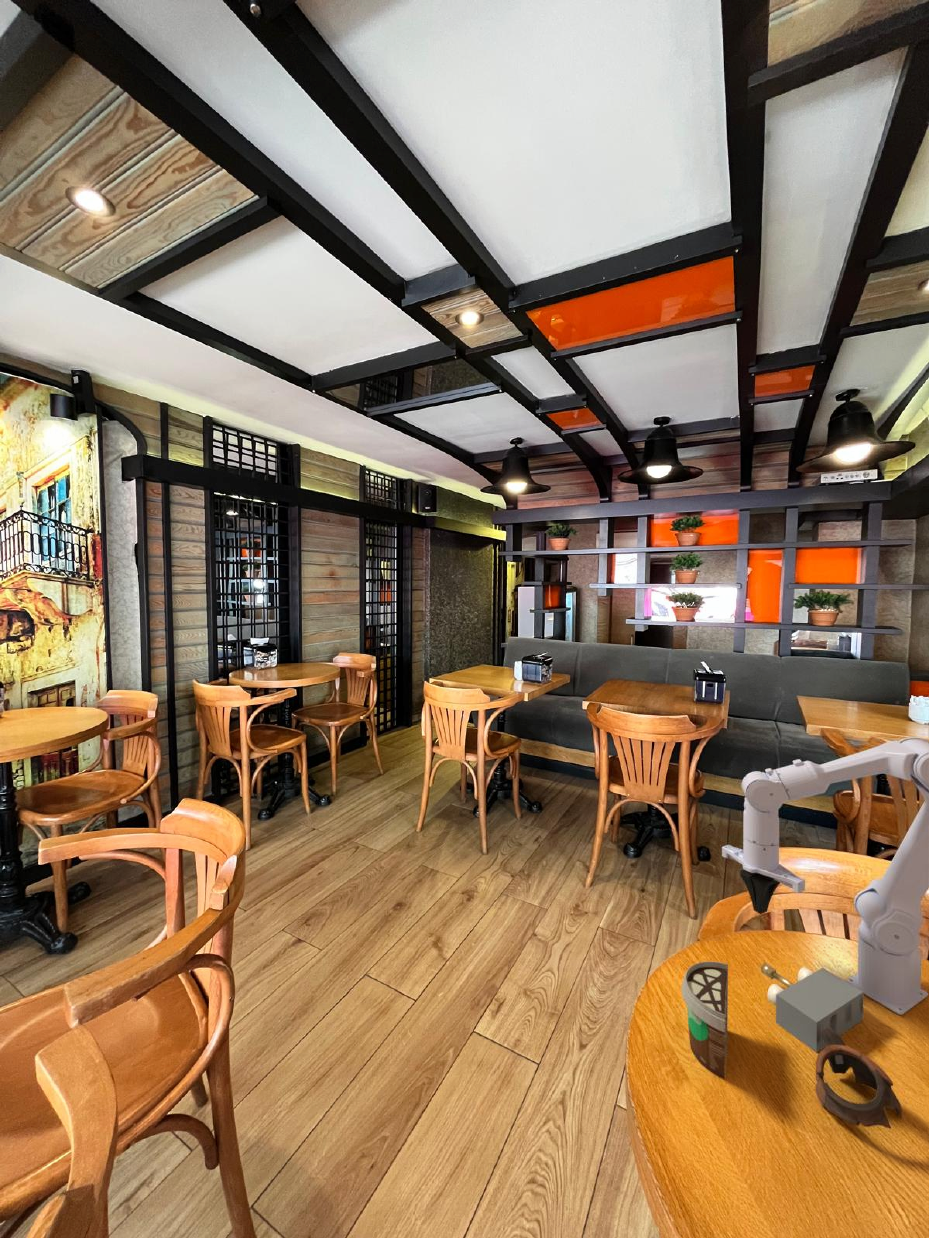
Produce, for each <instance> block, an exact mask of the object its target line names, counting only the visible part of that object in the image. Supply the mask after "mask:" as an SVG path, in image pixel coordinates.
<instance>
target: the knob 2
mask: <svg viewBox="0 0 929 1238" xmlns="http://www.w3.org/2000/svg"><path fill="white" fill-rule="evenodd" d="M814 972H815V971H812V970H811V969H809V968H807V967H806V966H803V967H801V968H800V969H799V972H798V975H797V982H799V981H801V980H802V979H804V978H806V977H807V976H809V975H811V974H813V973H814Z"/></svg>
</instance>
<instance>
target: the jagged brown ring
mask: <svg viewBox="0 0 929 1238" xmlns="http://www.w3.org/2000/svg"><path fill="white" fill-rule="evenodd" d="M821 1036H822V1038H823V1040H824V1042H825V1045H826V1046H825V1047H824V1048H822V1049H821V1051H820V1052H819V1053H818V1055H817V1057H816V1061H815V1080H816V1084H815V1087H814V1092H815V1093H816V1097H817V1100H819V1103H820V1106H822V1108H825V1109H826V1110H828V1112H831V1113H832V1114H833V1115H835V1116H837V1117H838V1118H840V1119H842V1120H843V1121H845V1122H848V1123H849V1124H852V1125H854V1126H855V1127H856V1126H857V1127H859V1126H860V1124H861V1125H862V1126H863V1127H865V1128H867V1127H874V1126H882V1127H884V1128H887V1129H892V1126H891V1124H890V1121H889V1117H888V1115H887V1112H886V1109H885V1108H887V1109H889V1110H892V1109H893V1110H894V1111H895V1114H896V1116H897V1117H898V1118H899V1119H901V1120H902V1118H903V1109H902V1105H901V1103H900V1101H899V1099H898V1097H897V1095H896V1094H895V1091H894V1090H893V1089H892V1086H894V1082H893V1081H892V1080H891V1078H890V1076H888V1074H887V1073H886V1072H885V1070H883V1068H882V1067H881V1066H880V1065H878V1063H876V1062H875V1061H874V1060H873V1059H871V1058H870V1057H868V1056H866V1055H865V1054H863V1053H861V1052H860V1051H858V1050H857V1049H855V1048H854V1047H850V1046H848V1045H847V1043H845V1042H844V1040H843V1039H842V1037H841V1036H839V1035H838V1034H837V1033H836V1032H835V1031H834V1029H833V1028H830V1027H827V1028H823V1029H822V1030H821ZM827 1061H828V1064H829V1067H830V1069H831V1071H832V1073H834V1074H842V1075H845V1074H846V1073H847V1072H848V1070H849V1069H850V1068H851V1069H852V1074H853V1075H854V1080H855V1082H856V1084H858V1085H862V1086H865V1087H866V1086H867V1087H868V1088H871V1089H873V1090H874V1091H876V1093H875V1096H874V1098H872V1099H871V1100H870V1101H868V1102H865V1103H864V1102H863V1103H857V1102H856V1103H855V1102H851V1101H849V1100H847V1099H845V1098H843V1097H842V1096H840V1095H838V1094H837V1093H836V1092H835V1091H834V1090H833V1089H832V1088H831V1086H830V1085H829V1084H828V1082H825V1080H824V1077H825V1071H824V1069H825V1065H826V1062H827Z"/></svg>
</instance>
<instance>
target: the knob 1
mask: <svg viewBox="0 0 929 1238" xmlns="http://www.w3.org/2000/svg"><path fill="white" fill-rule="evenodd" d="M783 990H785V989H784V988H782V987H781V986H780V985H779V984H776V983H772V984H771V985H770V986H769V988H768V990H767V997H766V998H767V1000H768V1001H769V1002H770V1003H772V1004H773V1005H775V1006H776V994H778V993H780V992H781V991H783Z"/></svg>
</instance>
